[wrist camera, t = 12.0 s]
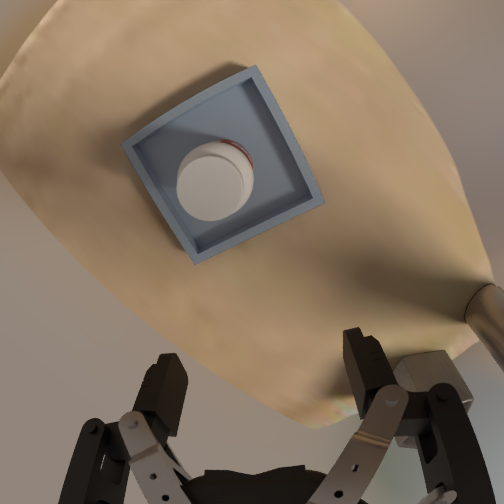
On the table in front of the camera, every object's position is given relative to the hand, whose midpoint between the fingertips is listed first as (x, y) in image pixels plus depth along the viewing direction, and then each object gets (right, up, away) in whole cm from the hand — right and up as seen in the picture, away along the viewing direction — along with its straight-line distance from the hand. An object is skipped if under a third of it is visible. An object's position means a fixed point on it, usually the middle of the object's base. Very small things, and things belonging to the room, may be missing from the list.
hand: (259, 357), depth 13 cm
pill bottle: (-3, +14, +16) cm, 22 cm away
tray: (-3, +14, +17) cm, 22 cm away
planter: (+30, -17, +32) cm, 47 cm away
